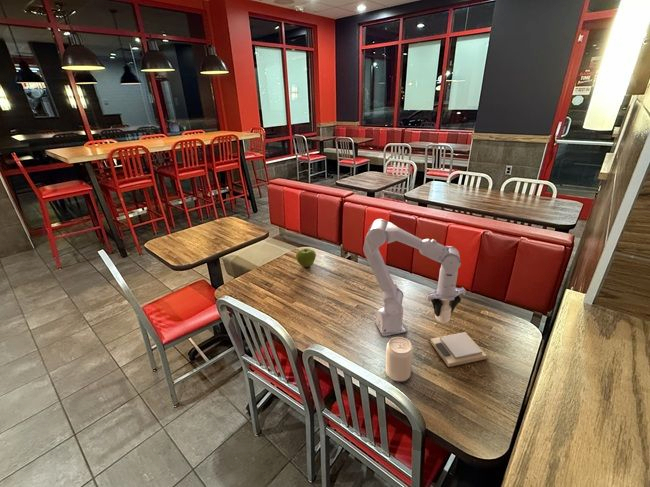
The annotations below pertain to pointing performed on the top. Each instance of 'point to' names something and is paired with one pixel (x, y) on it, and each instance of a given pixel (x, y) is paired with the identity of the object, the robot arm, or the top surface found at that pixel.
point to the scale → (457, 349)
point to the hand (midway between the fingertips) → (442, 313)
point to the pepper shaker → (444, 312)
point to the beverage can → (399, 358)
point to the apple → (306, 257)
